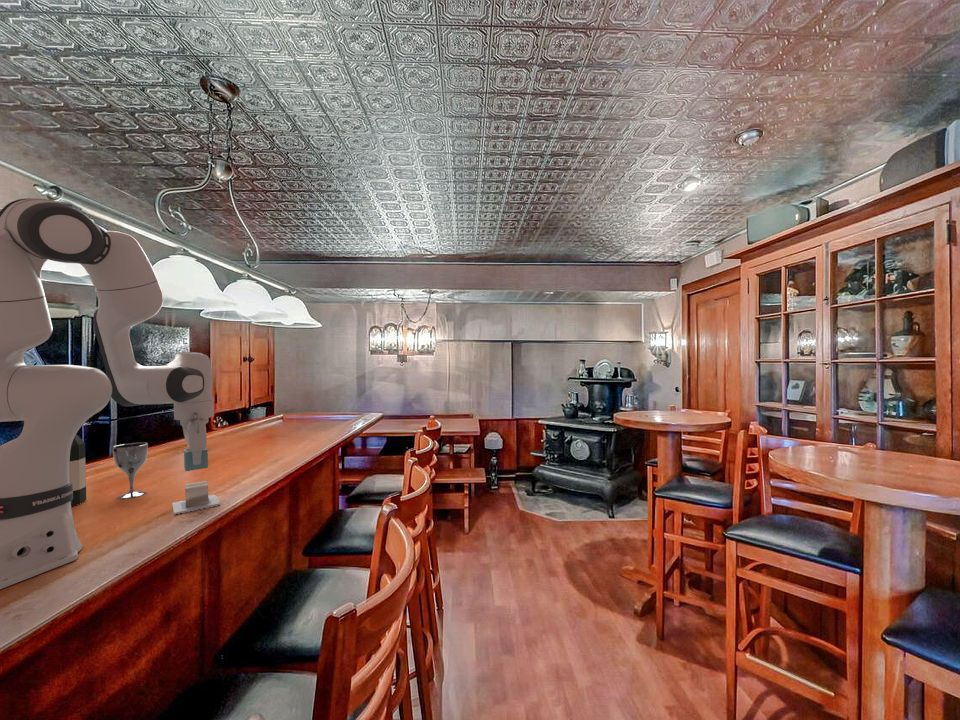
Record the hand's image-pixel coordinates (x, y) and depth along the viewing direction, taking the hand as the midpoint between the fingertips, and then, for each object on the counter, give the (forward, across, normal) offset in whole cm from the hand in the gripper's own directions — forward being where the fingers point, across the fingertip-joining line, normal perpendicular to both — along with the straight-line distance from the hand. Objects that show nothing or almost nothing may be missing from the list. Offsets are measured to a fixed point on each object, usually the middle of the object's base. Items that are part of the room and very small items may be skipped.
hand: (195, 461), depth 110 cm
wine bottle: (+12, +27, +28) cm, 41 cm away
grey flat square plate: (+12, 0, 0) cm, 12 cm away
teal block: (+2, 0, 0) cm, 2 cm away
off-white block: (+11, 0, 0) cm, 11 cm away
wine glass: (+12, +24, +14) cm, 31 cm away
